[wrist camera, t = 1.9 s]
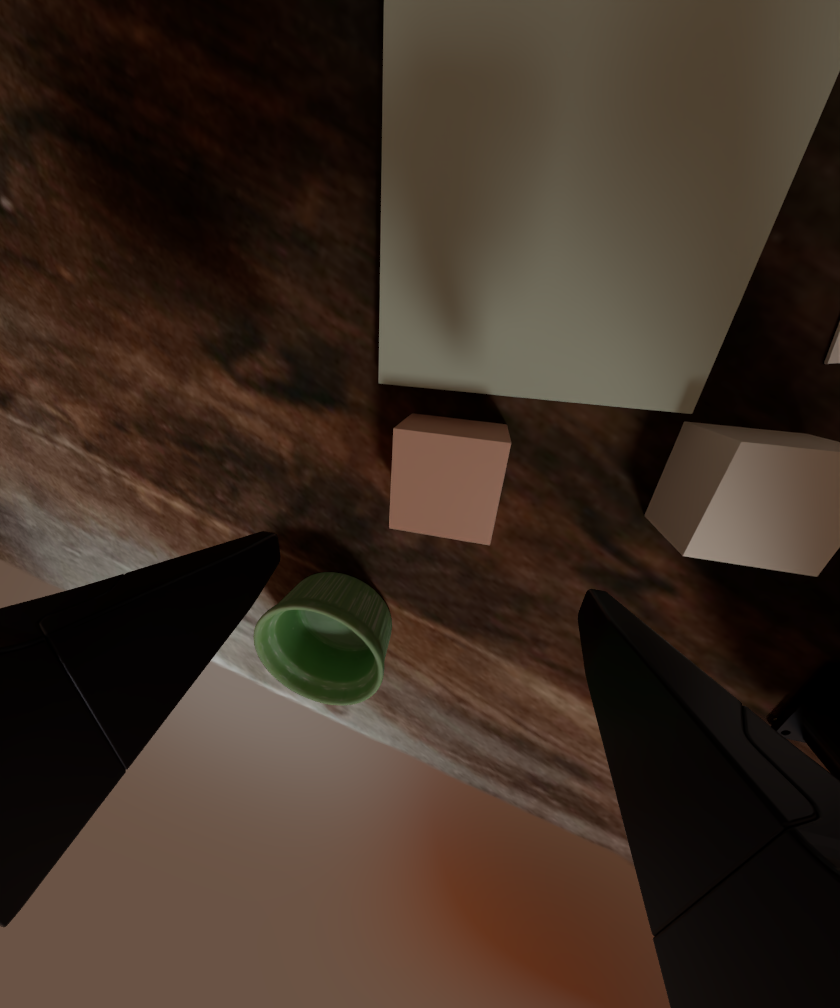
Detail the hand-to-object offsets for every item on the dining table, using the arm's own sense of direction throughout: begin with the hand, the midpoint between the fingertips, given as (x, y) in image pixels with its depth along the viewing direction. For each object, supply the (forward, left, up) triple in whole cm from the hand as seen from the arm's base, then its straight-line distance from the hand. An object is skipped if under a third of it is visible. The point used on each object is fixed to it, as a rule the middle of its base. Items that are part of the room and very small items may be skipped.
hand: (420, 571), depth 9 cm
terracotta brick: (0, 0, -10) cm, 10 cm away
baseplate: (+11, -3, -10) cm, 15 cm away
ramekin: (-13, +7, -10) cm, 18 cm away
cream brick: (+1, -13, -10) cm, 16 cm away
